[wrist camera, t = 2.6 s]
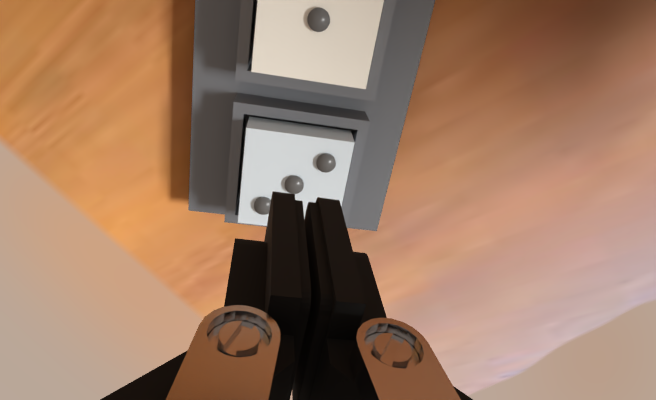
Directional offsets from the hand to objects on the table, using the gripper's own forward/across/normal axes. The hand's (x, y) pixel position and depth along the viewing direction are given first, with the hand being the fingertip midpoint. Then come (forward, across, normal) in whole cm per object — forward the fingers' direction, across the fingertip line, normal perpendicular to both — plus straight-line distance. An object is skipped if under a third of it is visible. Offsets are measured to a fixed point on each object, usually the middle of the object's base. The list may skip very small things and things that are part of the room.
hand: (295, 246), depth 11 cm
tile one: (+16, -1, -4) cm, 17 cm away
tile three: (+16, -1, +5) cm, 17 cm away
